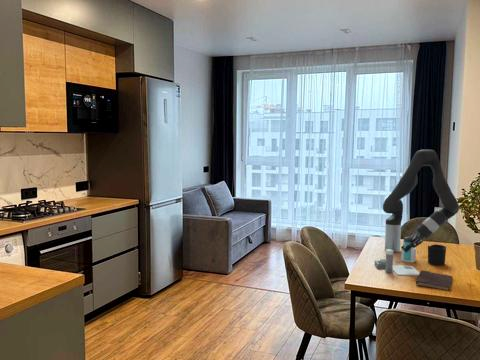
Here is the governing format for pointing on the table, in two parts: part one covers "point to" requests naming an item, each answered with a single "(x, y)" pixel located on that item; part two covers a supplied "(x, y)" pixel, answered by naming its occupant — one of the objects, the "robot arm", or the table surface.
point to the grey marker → (389, 261)
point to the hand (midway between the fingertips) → (403, 250)
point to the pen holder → (436, 254)
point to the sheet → (405, 270)
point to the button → (382, 260)
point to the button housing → (380, 265)
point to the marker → (408, 254)
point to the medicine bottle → (413, 255)
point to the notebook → (434, 280)
